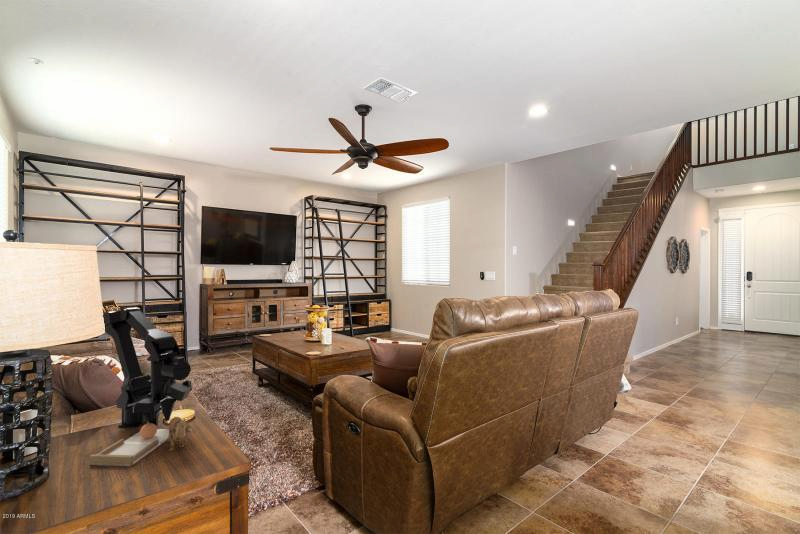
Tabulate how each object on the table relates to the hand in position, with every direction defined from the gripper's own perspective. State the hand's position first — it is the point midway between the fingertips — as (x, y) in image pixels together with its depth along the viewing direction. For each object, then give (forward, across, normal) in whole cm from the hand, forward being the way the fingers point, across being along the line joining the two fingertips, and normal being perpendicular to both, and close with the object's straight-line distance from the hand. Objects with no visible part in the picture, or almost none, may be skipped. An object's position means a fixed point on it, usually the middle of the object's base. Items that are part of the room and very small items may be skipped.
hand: (161, 424), depth 127 cm
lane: (+2, -10, 0) cm, 11 cm away
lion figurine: (+2, -8, -10) cm, 13 cm away
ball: (-1, -6, 0) cm, 6 cm away
